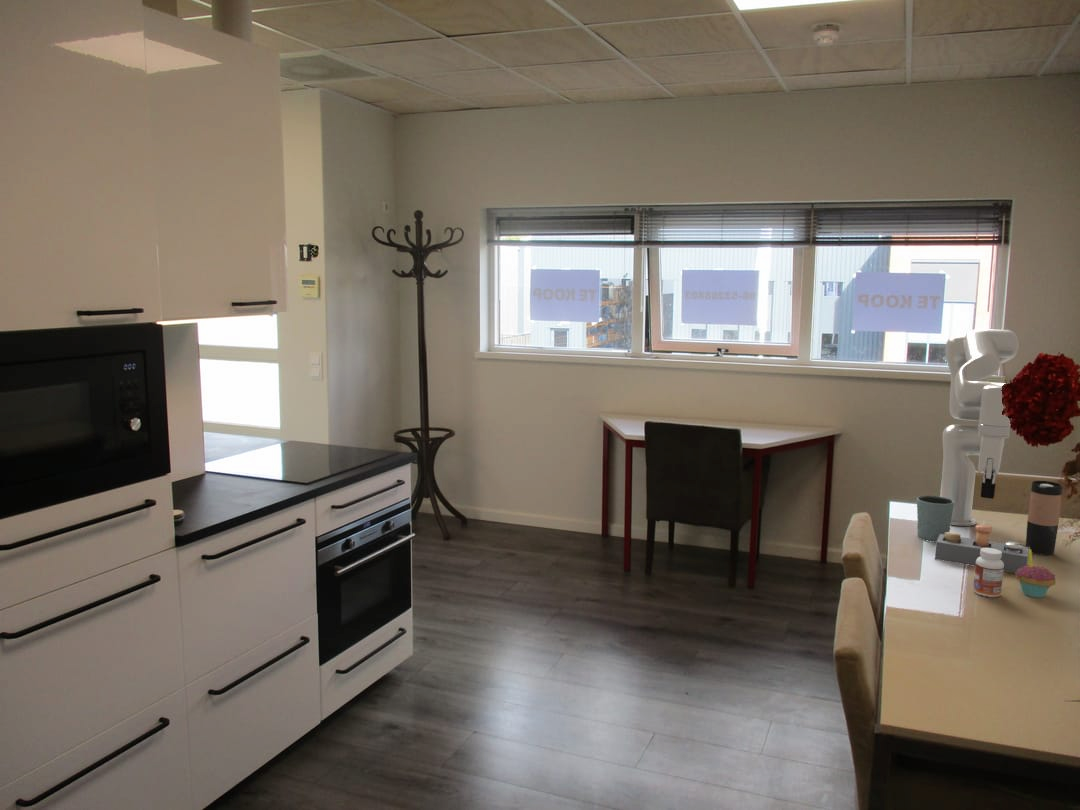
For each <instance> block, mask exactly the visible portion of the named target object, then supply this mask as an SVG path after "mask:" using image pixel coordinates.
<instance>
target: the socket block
mask: <svg viewBox="0 0 1080 810" xmlns="http://www.w3.org/2000/svg"><path fill="white" fill-rule="evenodd" d="M935 543H936V544H935V553H934V560H937V559H938V560H939V561H943V560H944V561H943V562H949V561H950V563H955V564H956V563H957V564H960V563H961V564H962V565H966V564H969V565H968V566H972V565H974V566H973V567H975V565H976V560H977V558H978V557H981V555H980V550H981V548H986V547H980V546H975V544H976V538H969V537H965V536H964V537H963V536H960V540H958V543H955V542H949V541H946V539H945V538H944V534H940V535H939V537H938V539H937V542H935ZM988 548H993V549H997V550H1000V551H1001V552H1002V557H1001V559H1000V560H1001V561H1002V562H1003V563H1004V570H1003V572H1007V571H1008V572H1009V573H1013V572H1014V573H1015V574H1016V571H1017V570H1018V569H1019V568H1021V567H1023V566H1027V565H1028V559H1029V551H1028V547H1026V546H1022V550H1020V553H1017V552H1011V551H1006V548H1005V543H1003V542H996V541H990V540H989V546H988ZM1008 572H1007V573H1008Z"/></svg>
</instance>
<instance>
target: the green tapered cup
mask: <svg viewBox="0 0 1080 810" xmlns="http://www.w3.org/2000/svg"><path fill="white" fill-rule="evenodd" d="M953 507H954V501H953V500H952V499H949V498H946V497H940V495H930V494H929V495H920V496H918V497H917V498H916V508H917V509H916V514H917V517H916V518H917V529H916V530H917V538H918V539H920V538H921V540H923V539H924V540H923V541H926V540H928V541H927V542H930V541H934V542H933V543H936V542H937V539H938V537H939V535H940V534H945V532H951V531H950V530H951V526H952V525H951V518H952V512H953Z"/></svg>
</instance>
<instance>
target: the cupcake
mask: <svg viewBox="0 0 1080 810" xmlns="http://www.w3.org/2000/svg"><path fill="white" fill-rule="evenodd" d="M1028 561H1029V565H1028V564H1027V566H1023V567H1021V568H1019V569H1018V570H1017V571H1016V573H1015V577H1016V579H1017V580H1018V581H1019V584H1020V588H1021V592H1022V594H1024V595H1025V596H1027V597H1031V598H1039V599H1040V598H1044V597H1045V595H1046V593H1047V591H1048V590H1049V588H1050V587H1053V586H1055V585H1056V583H1057V581H1056V578H1055V576H1056V575H1055V574H1054V573H1052V571H1050V570H1049V569H1048V568H1047V567H1046V568H1045V567H1043V566H1038V565H1033V553H1032V551H1031V549H1030V547H1029V550H1028Z"/></svg>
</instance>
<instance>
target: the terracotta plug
mask: <svg viewBox="0 0 1080 810" xmlns="http://www.w3.org/2000/svg"><path fill="white" fill-rule="evenodd" d="M974 530H975V531H976V535H975V536H976V537H975V539H976V544H975V546H980V547H986V548H988V546H989V541H990V535H991V533H992V531H993V527H992V526H991V525H989V524H988V525H987V524H983V523H982V524H977V523H976V524H975V529H974Z"/></svg>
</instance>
